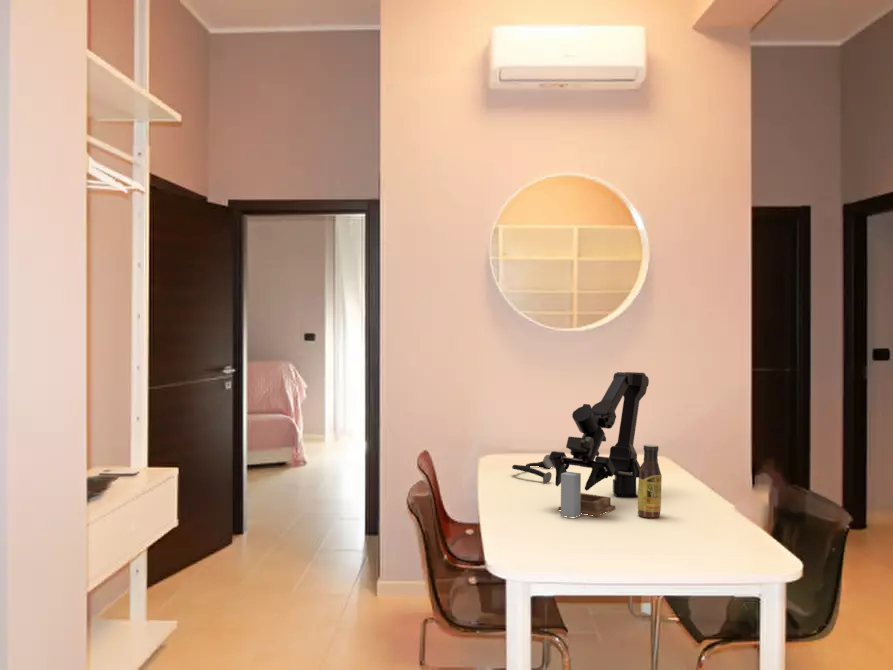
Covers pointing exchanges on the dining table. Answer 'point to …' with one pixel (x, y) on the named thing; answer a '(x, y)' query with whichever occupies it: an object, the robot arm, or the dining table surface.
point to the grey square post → (570, 494)
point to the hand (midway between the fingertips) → (571, 487)
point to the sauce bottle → (649, 484)
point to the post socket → (595, 504)
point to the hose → (544, 463)
